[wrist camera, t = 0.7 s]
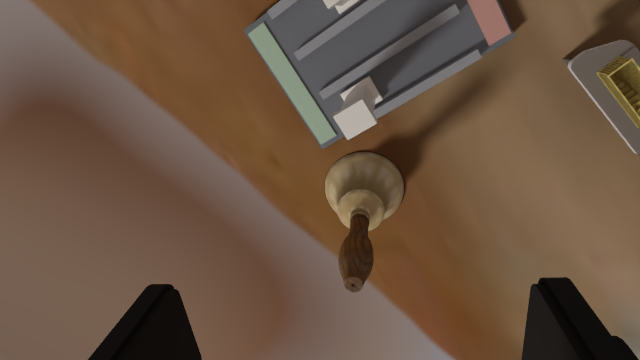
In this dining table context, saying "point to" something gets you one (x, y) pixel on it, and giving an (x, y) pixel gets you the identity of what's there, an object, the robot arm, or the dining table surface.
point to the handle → (358, 108)
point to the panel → (371, 50)
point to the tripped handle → (340, 4)
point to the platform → (613, 85)
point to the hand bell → (362, 207)
